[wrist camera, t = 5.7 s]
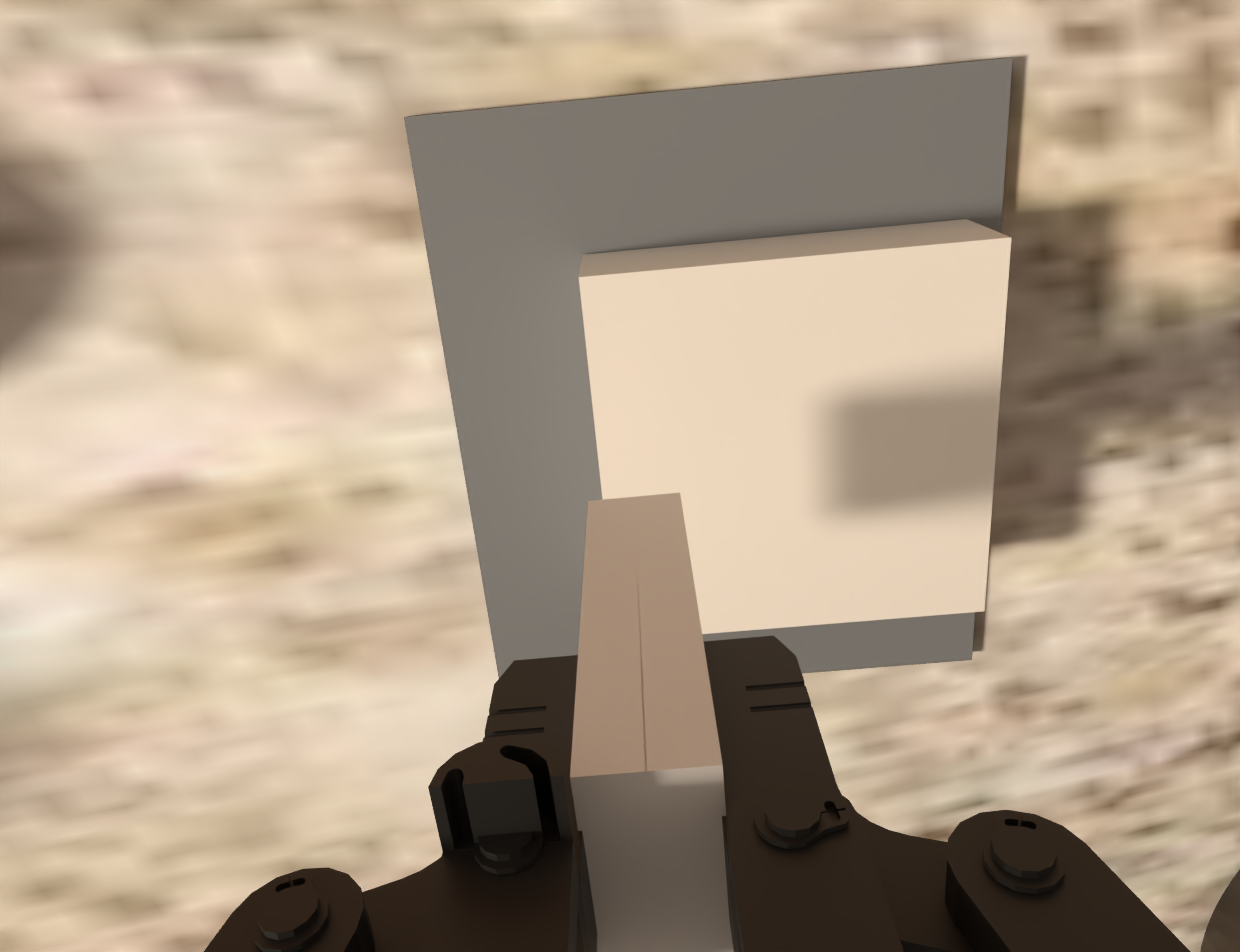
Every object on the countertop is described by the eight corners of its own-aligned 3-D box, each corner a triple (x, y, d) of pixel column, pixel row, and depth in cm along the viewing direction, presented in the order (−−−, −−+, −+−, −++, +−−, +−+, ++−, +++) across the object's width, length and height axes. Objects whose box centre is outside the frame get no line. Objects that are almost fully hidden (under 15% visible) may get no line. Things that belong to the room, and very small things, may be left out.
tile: (582, 253, 20) (965, 218, 19) (617, 585, 23) (947, 558, 23) (578, 276, 17) (1011, 237, 17) (617, 640, 21) (984, 611, 20)
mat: (1006, 57, 19) (1012, 57, 18) (967, 653, 24) (971, 659, 24) (406, 116, 19) (404, 116, 19) (503, 690, 24) (502, 697, 24)
